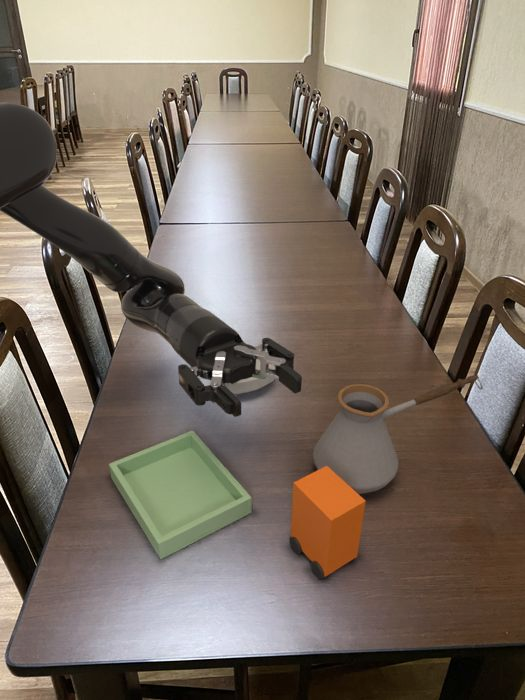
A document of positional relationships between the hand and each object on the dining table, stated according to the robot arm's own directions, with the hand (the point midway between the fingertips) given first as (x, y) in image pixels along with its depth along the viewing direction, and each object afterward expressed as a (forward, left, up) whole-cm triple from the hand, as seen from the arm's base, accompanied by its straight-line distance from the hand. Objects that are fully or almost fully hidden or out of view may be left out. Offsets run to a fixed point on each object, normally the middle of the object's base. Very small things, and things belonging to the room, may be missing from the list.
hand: (270, 397), depth 62 cm
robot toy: (+24, +15, -16) cm, 32 cm away
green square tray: (-4, +11, -16) cm, 20 cm away
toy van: (-6, -9, -16) cm, 19 cm away
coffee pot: (+10, -14, -16) cm, 24 cm away
